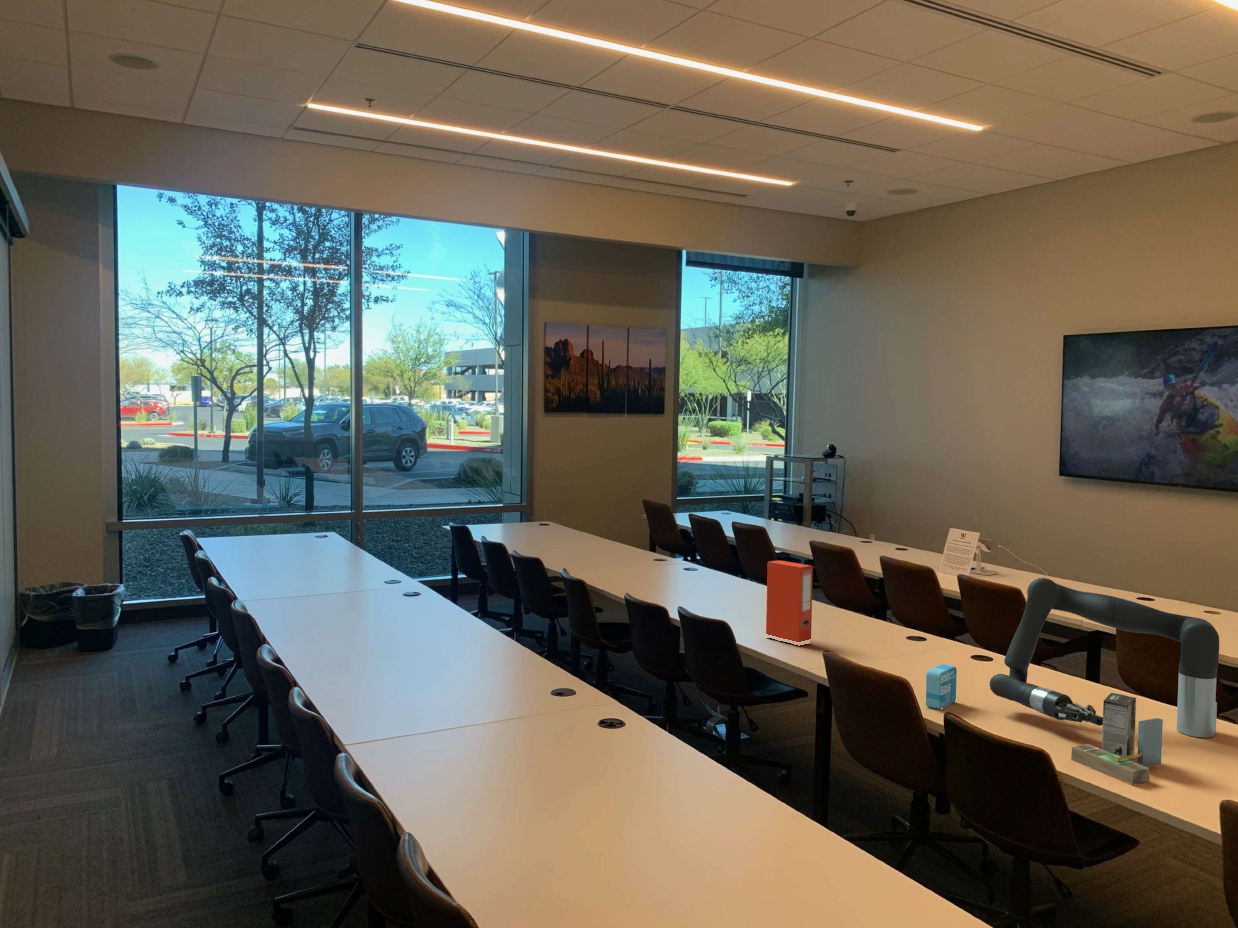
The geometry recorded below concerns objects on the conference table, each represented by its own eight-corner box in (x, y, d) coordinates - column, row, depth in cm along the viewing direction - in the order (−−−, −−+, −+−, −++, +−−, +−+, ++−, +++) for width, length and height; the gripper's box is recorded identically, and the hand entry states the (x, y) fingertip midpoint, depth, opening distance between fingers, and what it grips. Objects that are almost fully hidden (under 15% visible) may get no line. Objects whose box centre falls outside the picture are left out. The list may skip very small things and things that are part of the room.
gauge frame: (1087, 756, 242) (1088, 743, 242) (1148, 781, 225) (1149, 767, 225) (1071, 759, 240) (1071, 745, 239) (1132, 785, 223) (1132, 770, 223)
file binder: (778, 635, 374) (780, 559, 372) (811, 643, 361) (812, 565, 359) (765, 638, 369) (767, 561, 367) (798, 646, 356) (799, 567, 354)
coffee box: (1108, 749, 247) (1110, 691, 246) (1135, 754, 243) (1137, 696, 242) (1100, 758, 240) (1102, 699, 240) (1127, 764, 236) (1129, 704, 235)
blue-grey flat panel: (1155, 762, 235) (1157, 717, 235) (1161, 764, 234) (1162, 719, 233) (1113, 770, 229) (1115, 725, 229) (1118, 773, 228) (1120, 727, 227)
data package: (938, 710, 279) (939, 673, 278) (925, 707, 282) (926, 670, 282) (956, 702, 287) (957, 665, 287) (942, 699, 291) (943, 662, 290)
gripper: (1034, 692, 259) (1085, 711, 243) (1067, 687, 264) (1120, 705, 248) (1033, 718, 260) (1084, 738, 244) (1066, 712, 265) (1119, 732, 249)
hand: (1102, 721), depth 246 cm, fingers closed
